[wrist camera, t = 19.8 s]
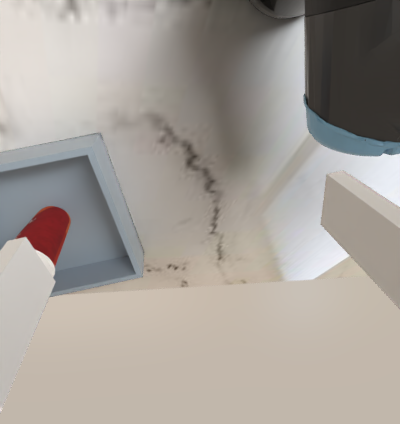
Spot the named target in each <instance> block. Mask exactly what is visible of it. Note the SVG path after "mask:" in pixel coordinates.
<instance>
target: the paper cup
mask: <svg viewBox="0 0 400 424" xmlns="http://www.w3.org/2000/svg"><path fill="white" fill-rule="evenodd" d="M70 223H71V219H70V216H69V214H68V213H67V212H66V211H65V210H63V209H61V208H59V207H55V206H48V207H44V208H42V209H41V210H40V211H39V212H38V213H37V214H36V215H35V216H34V217H33V218H32V219H31V221H30V222H29V223H28V224H27V225H26V226H25V227H24V229H23V230H22V231H21V232H20V233H19V234H18V235H17V237H16V238H15V239H19V238H23V237H26V238H27V239H28V241H29V242H30V244H31V245H32V247H33V248H34V250H35V251H36V253H37V254H38V256H39V257H40V259H41V260H42V262H43V263H44V265H45V266H46V268H47V269H48V271H49V272H50V274H51V275H52V277H54V275H55V265H56V263H57V260H58V257H59V255H60V252H61V249H62V247H63V244H64V241H65V238H66V236H67V233H68V230H69V227H70Z"/></svg>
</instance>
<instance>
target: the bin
mask: <svg viewBox="0 0 400 424" xmlns="http://www.w3.org/2000/svg"><path fill="white" fill-rule="evenodd" d="M48 206H55V207H59V208H61V209H63V210H65V211H66V212H67V213H68V214H69V216H70V219H71V223H70V227H69V230H68V233H67V236H66V238H65V241H64V244H63V247H62V249H61V252H60V255H59V257H58V260H57V263H56V265H55V275H54V277H53V278H54V280H55V281H56V282H55V285H54V287H53V289H52V292H51V294H50V297H53V296H58V295H62V294H67V293H71V292H76V291H80V290H85V289H90V288H94V287H99V286H103V285H108V284H112V283H117V282H122V281H126V280H131V279H135V278H140V277H143V266H144V251H143V248H142V245H141V243H140V240H139V237H138V234H137V232H136V229H135V226H134V223H133V221H132V218H131V215H130V212H129V210H128V207H127V204H126V201H125V198H124V196H123V193H122V190H121V187H120V185H119V182H118V179H117V176H116V174H115V171H114V168H113V165H112V163H111V160H110V157H109V154H108V152H107V149H106V146H105V143H104V141H103V138H102V135H101V133H96V134H91V135H86V136H81V137H76V138H70V139H65V140H60V141H55V142H50V143H45V144H40V145H35V146H30V147H25V148H20V149H15V150H9V151H4V152H0V250H1V249H2V248H3V246H4V245H5V244H6V242H7V241H9V240H14V239H15V238H16V237H17V235H18V234H19V233H20V232H21V231H22V230H23V229H24V227H25V226H26V225H27V224H28V223H29V222H30V221H31V219H32V218H33V217H34V216H35V215H36V214H37V213H38V212H39V211H40V210H41V209H42V208H44V207H48Z"/></svg>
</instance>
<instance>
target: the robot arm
mask: <svg viewBox="0 0 400 424" xmlns="http://www.w3.org/2000/svg"><path fill="white" fill-rule="evenodd" d="M249 1H250V2H251V3H252V4H253V5H254V6H255V7H256V8H257V9H258V10H259V11H261V12H262V13H264V14H266V15H268V16H271V17H274V18H291V17H296V16H300V15H303V14H305V17H304V25H305V94H304V105H305V107H306V116H307V127H308V130H309V132H310V133H311V134H312V136H313V137H314V139H315V140H316V141H317V142H319V143H320V144H322V145H324V146H325V147H328V148H330V149H332V150H335V151H339V152H342V153H347V154H352V155H359V156H381V155H382V153H385V154H388V155H395V154H400V0H249ZM321 225H322V226H323V227H324V229H325V230H326V231H327V232H328V233H329V234H330V235H331V236H332V237H333V238H334V239H335V240H336V241H337V242H338V244H339V245H340V246H341V247H342V248H343V249H344V250H345V251H346V252H347V253H348V254H349V255H350V256H351V257H352V259H353V260H354V261H355V262H356V263H357V264H358V265H359V266H360V267H361V268H362V269H363V270H364V271H365V272H366V274H367V275H368V276H369V277H370V278H371V279H372V280H373V281H374V282H375V283H376V284H377V285H378V286H379V287H380V288H381V290H382V291H383V292H384V293H385V294H386V295H387V296H388V297H389V298H390V299H391V300H392V301H393V302H394V303H395V305H396V306H398V308H399V309H400V207H398V206H397V205H395V204H394V203H392V202H391V201H389V200H388V199H386V198H385V197H383V196H382V195H380V194H378V193H377V192H375V191H374V190H372V189H371V188H369V187H368V186H366V185H365V184H363V183H362V182H360V181H359V180H357V179H356V178H354V177H353V176H351V175H350V174H348V173H346V172H345V171H339V172H334V173H329V174H327V175H326V184H325V192H324V200H323V209H322V217H321ZM55 282H56V281H55V280H54V278H53V277H52V275H51V274H50V272H49V271H48V269H47V268H46V266H45V265H44V263H43V262H42V260H41V259H40V257H39V256H38V254H37V253H36V251H35V250H34V248H33V247H32V245H31V244H30V242H29V241H28V239H27V238H26V237H23V238H19V239H14V240H9V241H7V242H6V244H5V245H4V246H3V248H2V249H1V250H0V412H1V410H2V408H3V405H4V403H5V400H6V398H7V396H8V393H9V391H10V389H11V386H12V384H13V382H14V379H15V377H16V375H17V372H18V370H19V367H20V365H21V363H22V360H23V358H24V355H25V353H26V351H27V348H28V346H29V344H30V341H31V339H32V337H33V334H34V332H35V330H36V327H37V325H38V323H39V320H40V318H41V315H42V313H43V310H44V308H45V306H46V303H47V301H48V299H49V297H50V294H51V292H52V289H53V287H54V285H55Z"/></svg>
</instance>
